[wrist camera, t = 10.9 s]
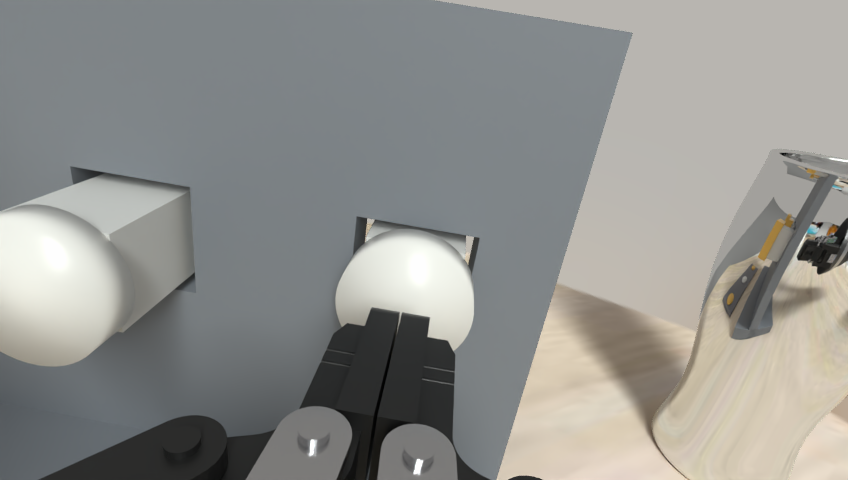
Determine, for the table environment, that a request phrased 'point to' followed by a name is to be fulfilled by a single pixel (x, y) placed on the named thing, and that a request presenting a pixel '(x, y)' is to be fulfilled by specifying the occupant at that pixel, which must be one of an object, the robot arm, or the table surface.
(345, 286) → the button
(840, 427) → the table surface
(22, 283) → the middle button
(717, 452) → the silver metal cup
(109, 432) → the button panel
